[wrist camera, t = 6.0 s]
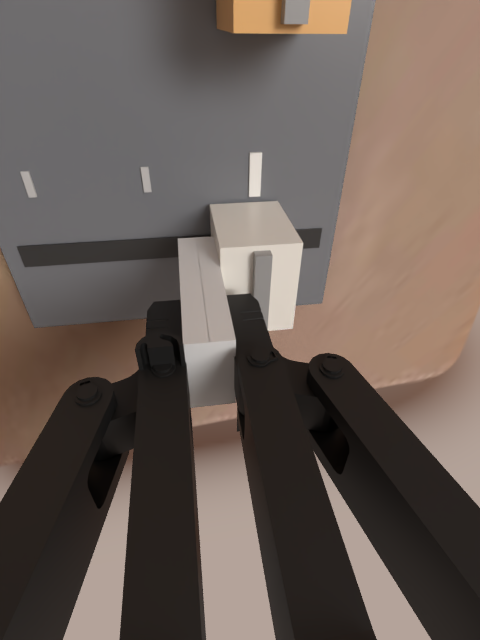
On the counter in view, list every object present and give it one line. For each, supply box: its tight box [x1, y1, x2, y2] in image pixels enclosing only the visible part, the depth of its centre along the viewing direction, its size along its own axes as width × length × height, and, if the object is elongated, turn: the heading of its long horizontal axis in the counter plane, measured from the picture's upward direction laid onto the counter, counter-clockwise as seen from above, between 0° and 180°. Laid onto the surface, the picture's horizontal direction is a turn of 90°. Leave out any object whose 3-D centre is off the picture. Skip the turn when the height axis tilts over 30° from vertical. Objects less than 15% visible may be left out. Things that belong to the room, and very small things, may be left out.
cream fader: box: [210, 201, 303, 331], centre depth 16 cm, size 3×4×4 cm
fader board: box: [0, 0, 376, 328], centre depth 15 cm, size 15×19×1 cm
